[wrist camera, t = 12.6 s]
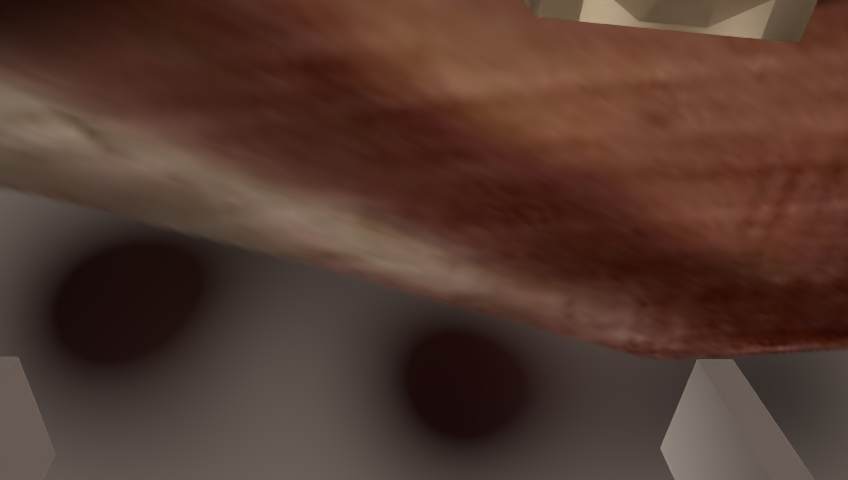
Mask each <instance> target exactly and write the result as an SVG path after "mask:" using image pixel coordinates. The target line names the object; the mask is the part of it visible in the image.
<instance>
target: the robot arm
mask: <svg viewBox="0 0 848 480" xmlns="http://www.w3.org/2000/svg"><path fill="white" fill-rule="evenodd" d="M661 451H662V453H663V455H664V457H665V459H666V462H667V464H668V466H669V468H670V470H671V472H672V475H673V477H674V479H675V480H814V478H813V477H812V475H811V474H810V473H809V471H808V469H807V468H806V466H805V465H804V464H803V462H802V461H801V459H800V458H799V456H798V455H797V453H796V452H795V450H794V449H793V447H792V446H791V445H790V443H789V441H788V440H787V439H786V437H785V436H784V434H783V433H782V431H781V430H780V428H779V427H778V425H777V424H776V422H775V421H774V419H773V418H772V417H771V415H770V413H769V412H768V411H767V409H766V408H765V406H764V405H763V403H762V402H761V400H760V399H759V397H758V396H757V395H756V393H755V391H754V390H753V388H752V387H751V386H750V384H749V383H748V381H747V380H746V378H745V377H744V375H743V374H742V372H741V371H740V369H739V368H738V366H737V365H736V363H735V362H734V361H733V360H722V359H697V361H696V363H695V366H694V368H693V371H692V373H691V376H690V378H689V380H688V383H687V385H686V388H685V390H684V392H683V395H682V397H681V400H680V402H679V405H678V407H677V409H676V412H675V414H674V416H673V419H672V422H671V424H670V426H669V428H668V431H667V433H666V436H665V438H664V440H663V443H662V446H661ZM54 457H55V451H54V449H53V446H52V443H51V441H50V438H49V436H48V433H47V430H46V428H45V425H44V423H43V420H42V418H41V415H40V412H39V410H38V407H37V404H36V402H35V399H34V397H33V394H32V392H31V389H30V386H29V384H28V381H27V379H26V376H25V373H24V371H23V368H22V366H21V363H20V360H19V358H18V357H0V480H43V478H44V476H45V474H46V472H47V470H48V468H49V466H50V464H51V462H52V460H53V459H54Z"/></svg>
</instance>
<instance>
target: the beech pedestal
mask: <svg viewBox="0 0 848 480" xmlns="http://www.w3.org/2000/svg"><path fill="white" fill-rule="evenodd" d="M523 1H524V2H525V3H526V4H527V6H528V7H529V8H530V9H531V10H532V12H533V13H534V14H535V15H536V16H537V17H541V18H552V19H562V20H572V21H582V22H592V23H603V24H613V25H623V26H633V27H643V28H654V29H664V30H674V31H684V32H694V33H705V34H715V35H725V36H735V37H745V38H755V39H766V40H776V41H786V42H796V43H800V41H801V39H802V36H803V34H804V32H805V29H806V27H807V24H808V22H809V20H810V17H811V15H812V12H813V10H814V8H815V5H816V3H817V0H523Z"/></svg>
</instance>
